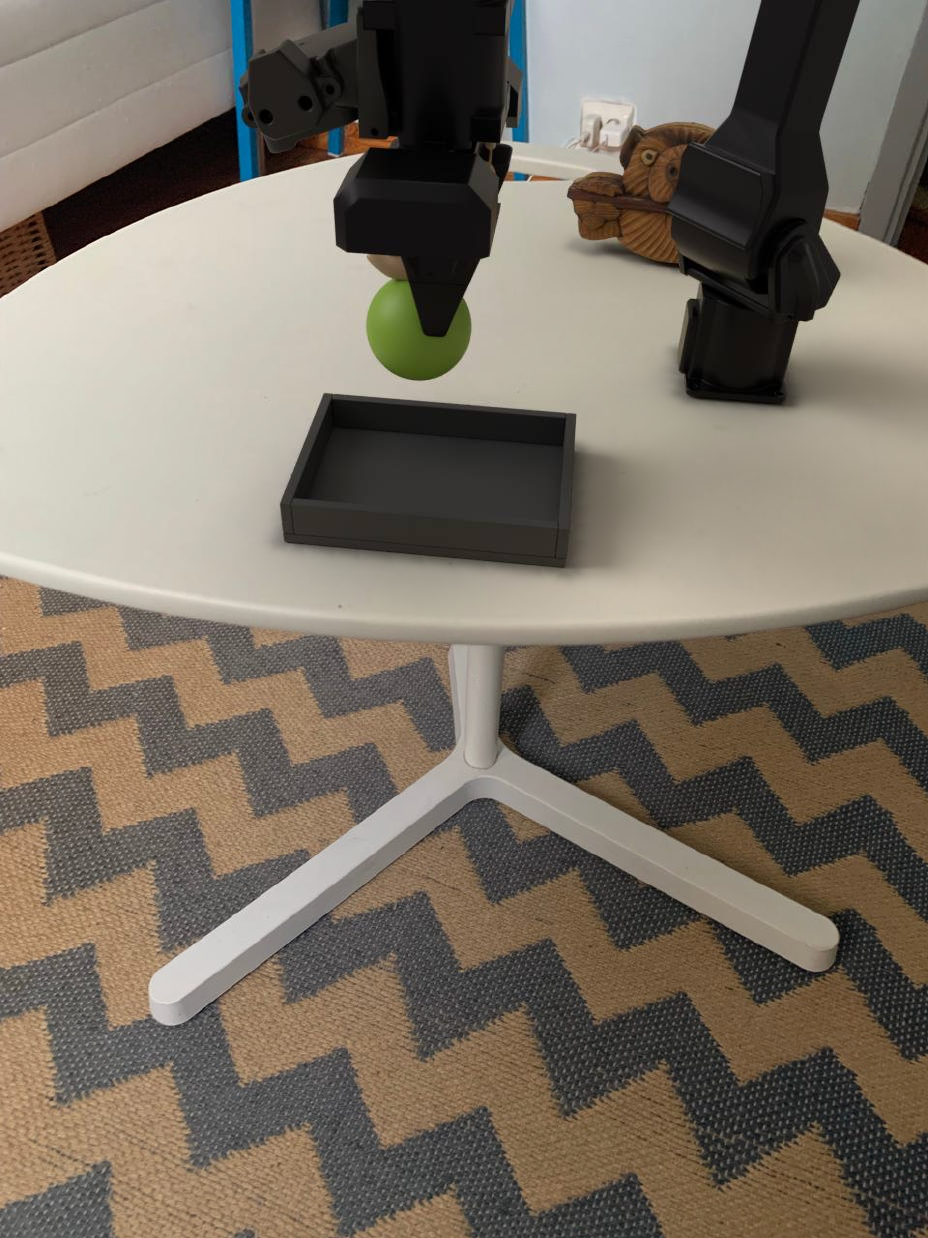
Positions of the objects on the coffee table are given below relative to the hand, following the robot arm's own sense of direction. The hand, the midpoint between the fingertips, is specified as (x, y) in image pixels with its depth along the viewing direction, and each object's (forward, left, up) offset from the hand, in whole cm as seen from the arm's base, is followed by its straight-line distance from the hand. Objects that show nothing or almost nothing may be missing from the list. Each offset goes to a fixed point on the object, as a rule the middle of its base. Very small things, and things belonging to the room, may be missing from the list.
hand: (439, 318), depth 53 cm
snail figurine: (+1, 0, -4) cm, 4 cm away
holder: (0, 0, -11) cm, 11 cm away
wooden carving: (-14, -34, -11) cm, 38 cm away
